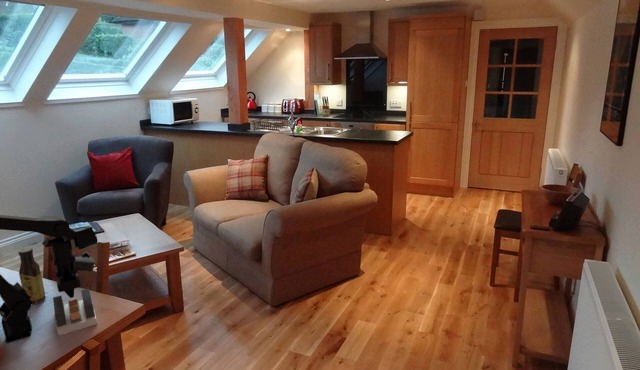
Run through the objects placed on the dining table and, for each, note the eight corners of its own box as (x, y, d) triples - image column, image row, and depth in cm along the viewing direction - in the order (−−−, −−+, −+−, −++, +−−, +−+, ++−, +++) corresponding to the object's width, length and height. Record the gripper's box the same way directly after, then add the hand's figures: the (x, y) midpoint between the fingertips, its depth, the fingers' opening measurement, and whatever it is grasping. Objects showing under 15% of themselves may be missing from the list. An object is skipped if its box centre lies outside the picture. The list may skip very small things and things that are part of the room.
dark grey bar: (57, 327, 139) (54, 315, 138) (55, 309, 149) (53, 297, 147) (66, 324, 140) (63, 312, 139) (63, 306, 150) (61, 295, 149)
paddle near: (71, 320, 142) (70, 314, 141) (71, 319, 143) (70, 313, 142) (80, 317, 143) (79, 311, 143) (80, 316, 144) (79, 310, 144)
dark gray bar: (86, 318, 143) (84, 306, 142) (83, 301, 153) (80, 290, 151) (95, 316, 144) (92, 304, 143) (91, 299, 154) (88, 288, 153)
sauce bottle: (21, 302, 157) (8, 251, 151) (39, 294, 162) (27, 244, 156) (33, 307, 154) (20, 254, 148) (50, 298, 159) (39, 247, 153)
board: (97, 323, 144) (96, 318, 143) (58, 335, 138) (57, 329, 138) (92, 302, 156) (91, 297, 155) (56, 312, 150) (54, 307, 150)
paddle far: (69, 307, 149) (68, 301, 149) (69, 306, 150) (68, 300, 150) (78, 304, 150) (77, 299, 150) (78, 303, 151) (76, 298, 151)
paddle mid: (70, 313, 145) (69, 307, 145) (70, 312, 146) (69, 306, 146) (79, 311, 147) (78, 305, 146) (79, 310, 148) (78, 304, 147)
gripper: (93, 259, 141) (102, 302, 145) (87, 238, 156) (95, 278, 161) (53, 268, 135) (63, 313, 140) (50, 246, 150) (59, 287, 155)
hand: (71, 297), depth 149 cm, fingers closed
